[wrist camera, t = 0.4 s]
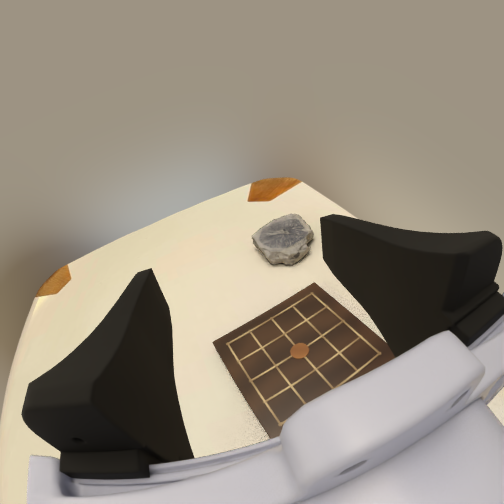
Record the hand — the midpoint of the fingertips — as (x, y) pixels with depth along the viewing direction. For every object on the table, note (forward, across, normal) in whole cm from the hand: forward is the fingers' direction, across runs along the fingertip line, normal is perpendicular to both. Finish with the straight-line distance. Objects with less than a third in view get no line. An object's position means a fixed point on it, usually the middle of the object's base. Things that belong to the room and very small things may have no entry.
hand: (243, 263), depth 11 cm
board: (+9, -5, +19) cm, 22 cm away
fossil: (+29, -11, +18) cm, 36 cm away
